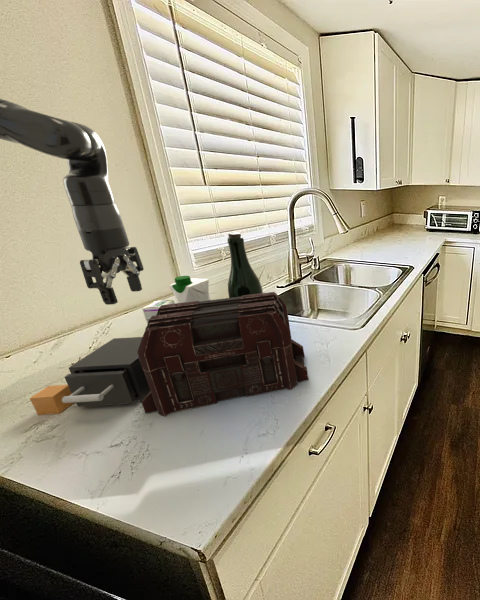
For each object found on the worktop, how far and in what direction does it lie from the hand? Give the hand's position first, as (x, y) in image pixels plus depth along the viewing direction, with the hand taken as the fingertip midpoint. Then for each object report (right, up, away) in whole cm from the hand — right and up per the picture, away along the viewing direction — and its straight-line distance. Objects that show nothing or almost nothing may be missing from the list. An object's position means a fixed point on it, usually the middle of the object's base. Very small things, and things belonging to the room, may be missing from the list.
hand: (124, 297), depth 75 cm
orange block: (-14, -25, -2) cm, 29 cm away
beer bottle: (+15, -12, +32) cm, 38 cm away
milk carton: (-2, -12, +33) cm, 35 cm away
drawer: (-3, -23, +1) cm, 23 cm away
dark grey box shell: (-3, -22, +6) cm, 23 cm away
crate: (+22, -21, +8) cm, 31 cm away
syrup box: (-6, -15, +24) cm, 29 cm away
